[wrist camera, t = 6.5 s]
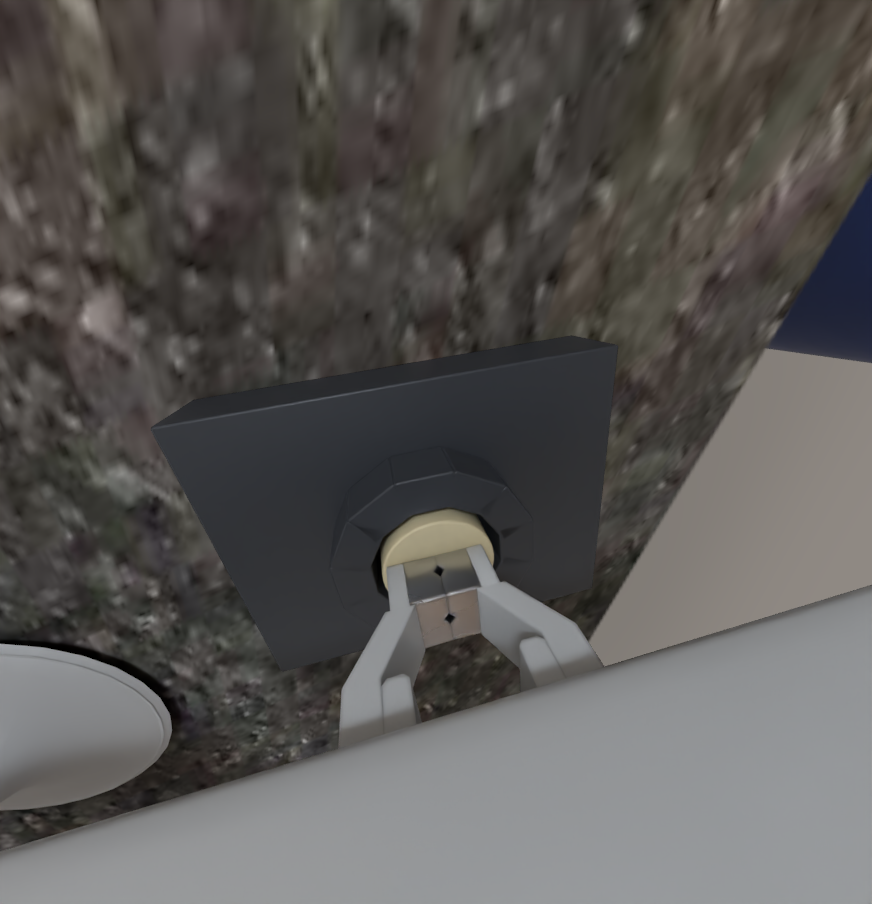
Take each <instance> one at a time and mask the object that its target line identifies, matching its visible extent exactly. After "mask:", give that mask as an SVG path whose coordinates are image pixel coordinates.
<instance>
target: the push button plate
mask: <svg viewBox="0 0 872 904" xmlns="http://www.w3.org/2000/svg"><path fill="white" fill-rule="evenodd" d="M617 351H618V346H617V345H615V344H610V343H605V342H600V341H596V340H591V339H586V338H581V337H576V336H567V337H561V338H555V339H549V340H543V341H537V342H532V343H526V344H520V345H514V346H508V347H502V348H496V349H490V350H485V351H479V352H473V353H467V354H461V355H455V356H449V357H443V358H438V359H432V360H426V361H420V362H414V363H408V364H402V365H396V366H391V367H385V368H379V369H373V370H367V371H361V372H355V373H349V374H344V375H338V376H332V377H326V378H320V379H314V380H308V381H302V382H297V383H291V384H285V385H279V386H273V387H267V388H261V389H255V390H250V391H244V392H238V393H232V394H226V395H220V396H214V397H209V398H203V399H197V400H193V401H191V402H190V403H188V404H187V405H185V406H183V407H182V408H180V409H179V410H177V411H176V412H174V413H173V414H171V415H170V416H168V417H166V418H165V419H163V420H162V421H160V422H159V423H157V424H156V425H154V426H153V427H151V431H152V433H153V435H154V437H155V439H156V441H157V442H158V444H159V446H160V448H161V450H162V452H163V453H164V455H165V457H166V459H167V461H168V463H169V465H170V466H171V468H172V470H173V472H174V474H175V476H176V477H177V479H178V481H179V483H180V485H181V487H182V489H183V490H184V492H185V494H186V496H187V498H188V500H189V501H190V503H191V505H192V507H193V509H194V511H195V513H196V514H197V516H198V518H199V520H200V522H201V524H202V525H203V527H204V529H205V531H206V533H207V535H208V536H209V538H210V540H211V542H212V544H213V546H214V548H215V549H216V551H217V553H218V555H219V557H220V559H221V560H222V562H223V564H224V566H225V568H226V570H227V572H228V573H229V575H230V577H231V579H232V581H233V583H234V584H235V586H236V588H237V590H238V592H239V594H240V596H241V597H242V599H243V601H244V603H245V605H246V607H247V608H248V610H249V612H250V614H251V616H252V618H253V620H254V621H255V623H256V625H257V627H258V629H259V631H260V632H261V634H262V636H263V638H264V640H265V642H266V644H267V645H268V647H269V649H270V651H271V653H272V655H273V656H274V658H275V660H276V662H277V664H278V666H279V668H280V669H281V671H283V672H284V671H287V670H291V669H295V668H298V667H302V666H306V665H310V664H313V663H317V662H321V661H324V660H328V659H332V658H335V657H339V656H343V655H347V654H350V653H354V652H358V651H361V650H364V649H365V647H366V645H367V644H368V642H369V640H370V638H371V636H372V635H373V633H374V631H375V629H376V628H377V626H378V624H379V622H380V621H381V619H382V617H383V615H384V613H385V612H388V611H390V604H389V594H388V590H387V589H386V587H385V585H384V582H383V577H382V566H381V553H380V544H381V541H382V539H383V537H384V536H386V535H387V534H388V533H390V532H391V531H392V530H394V529H395V528H396V527H397V526H399V525H400V524H401V523H403V522H404V521H405V520H407V519H408V518H409V517H410V516H412V515H417V514H421V513H425V512H430V511H434V510H439V509H443V508H448V507H450V508H454V509H458V510H462V511H466V512H470V513H475V514H476V515H477V516H478V518H479V520H480V522H481V524H482V526H483V528H484V530H485V532H486V534H487V536H488V538H489V539H490V541H491V543H492V546H493V551H494V563H493V568H494V570H495V573H496V575H497V577H498V579H499V581H500V582H503V581H506V582H507V583H509V584H511V585H512V586H514V587H516V588H518V589H519V590H521V591H523V592H524V593H526V594H528V595H529V596H531V597H533V598H534V599H536V600H538V601H539V602H543V601H547V600H550V599H554V598H558V597H561V596H565V595H569V594H573V593H576V592H580V591H584V590H587V589H591V588H592V583H593V574H594V564H595V555H596V546H597V536H598V527H599V518H600V509H601V499H602V490H603V481H604V472H605V462H606V453H607V444H608V435H609V425H610V416H611V407H612V397H613V388H614V379H615V370H616V360H617Z"/></svg>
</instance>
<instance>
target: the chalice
mask: <svg viewBox="0 0 872 904" xmlns="http://www.w3.org/2000/svg"><path fill="white" fill-rule="evenodd" d="M171 733H172V725H171V719H170V714H169V712H168V710H167V709H166V707H165V705H164V703H163V702H162V700H161V698H160V697H159V696H158V695H156V694H155V693H154V692H153V691H152V690H151V689H150V688H149V687H147V686H146V685H145V684H144V683H143V682H141V681H140V680H138V679H136V678H134V677H132V676H131V675H129V674H127V673H125V672H124V671H122V670H120V669H118V668H116V667H113V666H111V665H108V664H105V663H102V662H99V661H97V660H94V659H91V658H88V657H85V656H82V655H77V654H72V653H68V652H63V651H58V650H54V649H49V648H44V647H32V646H21V645H9V644H0V810H20V809H32V808H40V807H47V806H55V805H61V804H65V803H69V802H73V801H78V800H82V799H86V798H89V797H92V796H95V795H98V794H101V793H103V792H106V791H109V790H112V789H114V788H116V787H118V786H120V785H121V784H123V783H125V782H127V781H129V780H131V779H133V778H134V777H136V776H137V775H139V774H141V773H142V772H143V771H145V770H146V769H147V768H148V767H150V766H151V765H152V764H153V763H155V762H156V761H157V760H158V759H159V757H160V756H161V754H162V753H163V752H164V750H165V749H166V748H167V746H168V743H169V740H170V736H171Z"/></svg>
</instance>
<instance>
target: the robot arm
mask: <svg viewBox="0 0 872 904" xmlns="http://www.w3.org/2000/svg"><path fill="white" fill-rule="evenodd" d="M403 564H404V565H403ZM386 573H387V583H388V594H389V604H390V611H388V612H385V613H384V615H383V617H382V619H381V621H380V622H379V624H378V626H377V628H376V629H375V631H374V633H373V635H372V636H371V638H370V640H369V642H368V644H367V645H366V647H365V649H364V651H363V652H362V654H361V656H360V658H359V659H358V661H357V663H356V665H355V667H354V668H353V670H352V672H351V674H350V675H349V677H348V679H347V681H346V682H345V684H344V686H343V688H342V691H341V711H340V731H339V748H337V749H334V750H331V751H327V752H324V753H321V754H318V755H314V756H311V757H308V758H305V759H301V760H298V761H295V762H291V763H288V764H285V765H282V766H278V767H275V768H272V769H269V770H265V771H262V772H259V773H255V774H252V775H249V776H246V777H242V778H239V779H236V780H233V781H229V782H226V783H223V784H220V785H216V786H213V787H210V788H206V789H203V790H200V791H197V792H193V793H190V794H187V795H183V796H180V797H177V798H174V799H170V800H167V801H164V802H161V803H157V804H154V805H151V806H147V807H144V808H141V809H138V810H134V811H131V812H128V813H124V814H121V815H118V816H115V817H111V818H108V819H105V820H102V821H98V822H95V823H92V824H88V825H85V826H82V827H79V828H75V829H72V830H69V831H66V832H62V833H59V834H56V835H52V836H49V837H46V838H43V839H39V840H36V841H33V842H30V843H26V844H23V845H20V846H16V847H13V848H10V849H7V850H3V851H0V904H872V585H870V586H867V587H863V588H860V589H857V590H853V591H850V592H847V593H844V594H840V595H837V596H834V597H831V598H828V599H824V600H821V601H818V602H814V603H811V604H808V605H805V606H801V607H798V608H795V609H792V610H788V611H785V612H782V613H778V614H775V615H772V616H769V617H765V618H762V619H759V620H755V621H752V622H749V623H746V624H742V625H739V626H736V627H733V628H729V629H726V630H723V631H720V632H716V633H713V634H710V635H706V636H703V637H700V638H697V639H693V640H691V641H687V642H684V643H680V644H677V645H674V646H671V647H667V648H664V649H661V650H657V651H654V652H651V653H648V654H644V655H641V656H638V657H635V658H631V659H628V660H625V661H621V662H618V663H615V664H612V665H608V666H605V667H604V665H603V664H602V662H601V660H600V659H599V658H598V656H597V654H596V653H595V651H594V650H593V648H592V647H591V645H590V644H589V642H588V641H587V639H586V638H585V636H584V635H583V633H582V632H581V630H580V628H579V627H578V625H577V624H576V623H575V622H573V621H571V620H570V619H568V618H566V617H565V616H563V615H561V614H560V613H558V612H556V611H555V610H553V609H551V608H550V607H548V606H546V605H544V604H543V603H541V602H539V601H538V600H536V599H534V598H533V597H531V596H529V595H528V594H526V593H524V592H523V591H521V590H519V589H518V588H516V587H514V586H512V585H511V584H509V583H507V582H506V581H503V582H500V581H499V579H498V577H497V575H496V573H495V570H494V568H493V566H492V564H491V562H490V560H489V558H488V556H487V554H486V552H485V550H484V548H483V546H482V545H481V544H478V545H474V546H471V547H467V548H465V549H464V548H463V549H460V550H456V551H452V552H448V553H444V554H440V555H436V556H432V557H428V558H423V559H418V560H414V561H409V562H405V563H402V564H397V565H393V566H388V567H387V569H386ZM479 633H482V635H483V636H484V637H485V638H486V639H487V640H488V641H490V642H491V643H492V644H493V645H494V646H495V647H496V648H497V649H498V650H500V651H501V652H502V653H503V654H504V655H505V656H506V657H507V658H508V659H509V660H511V661H512V662H513V663H514V664H515V665H516V666H517V667H518V668H519V669H520V693H517V694H514V695H511V696H507V697H504V698H501V699H498V700H494V701H491V702H488V703H484V704H481V705H478V706H475V707H471V708H468V709H465V710H462V711H458V712H455V713H452V714H448V715H445V716H442V717H439V718H435V719H432V720H429V721H426V722H422V721H421V717H420V713H419V710H418V706H417V702H416V698H415V694H414V691H413V686H414V683H415V680H416V677H417V674H418V671H419V668H420V665H421V662H422V659H423V656H424V653H425V648H428V647H431V646H435V645H438V644H441V643H444V642H448V641H451V640H454V639H458V638H462V637H466V636H470V635H474V634H479Z"/></svg>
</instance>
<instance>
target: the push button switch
mask: <svg viewBox="0 0 872 904" xmlns="http://www.w3.org/2000/svg"><path fill="white" fill-rule="evenodd" d="M478 544H481V545H482V546H483V548H484V550H485V552H486V554H487V556H488V558H489V560H490V562H491V564H492V566H493V563H494V551H493V546H492V543H491V541H490V539H489V538H488V536H487V534H486V532H485V530H484V528H483V526H482V524H481V522H480V520H479V518H478V516H477V515H476V514H475V513H470V512H466V511H462V510H458V509H454V508H450V507H448V508H443V509H439V510H434V511H430V512H425V513H421V514H417V515H412V516H410V517H409V518H408V519H407V520H405V521H404V522H403V523H401V524H400V525H399V526H397V527H396V528H395V529H394V530H392V531H391V532H390V533H388V534H387V535H386V536H384V537H383V539H382V541H381V544H380V553H381V566H382V577H383V582H384V585H385V587H386V589H387V590H388V583H387V573H386V569H387V567H388V566H393V565H397V564H402V563H405V562H409V561H414V560H418V559H423V558H428V557H432V556H436V555H440V554H444V553H448V552H452V551H456V550H460V549H463V548H464V549H465V548H467V547H471V546H474V545H478ZM403 565H404V564H403Z"/></svg>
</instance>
